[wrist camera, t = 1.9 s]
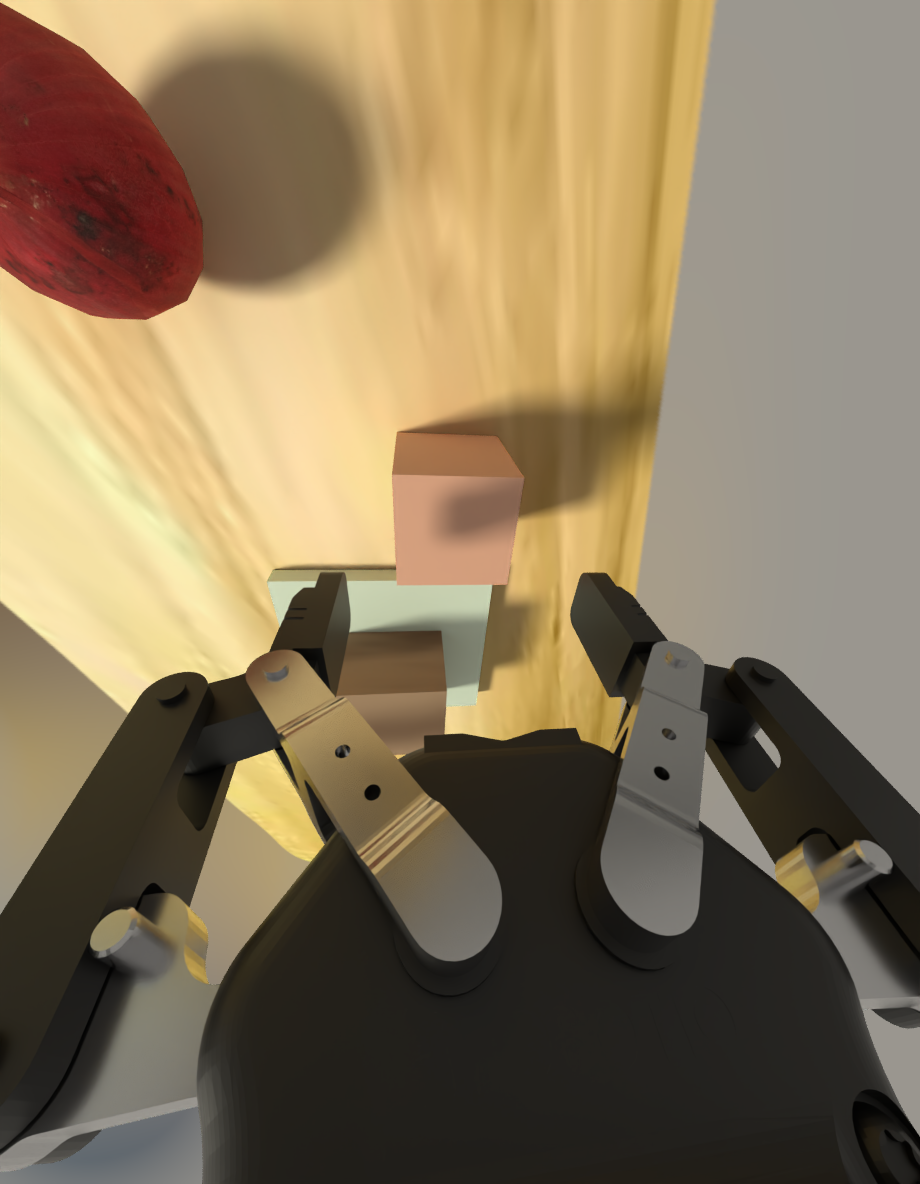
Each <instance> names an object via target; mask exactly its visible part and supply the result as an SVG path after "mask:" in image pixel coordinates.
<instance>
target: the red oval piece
mask: <svg viewBox="0 0 920 1184" xmlns="http://www.w3.org/2000/svg"><path fill="white" fill-rule="evenodd" d="M0 267H2V268H3V269H5V270H6V271H7V272H9V273H10V274H11V275H13V276H14V277H16V278H17V279H18V280H20V281H21V282H22V283H24V284H25V285H26V286H28V287H29V288H31V289H32V290H34V291H36V292H38V293H41V294H43V295H45V296H47V297H49V298H52V299H54V300H56V301H59V302H61V303H63V304H66V305H68V306H70V307H73V308H75V309H77V310H80V311H82V312H84V313H87V314H89V315H92V316H98V317H103V318H114V319H142V320H147V319H149V318H151V317H154V316H156V315H158V314H160V313H162V312H164V311H167V310H169V309H171V308H173V307H175V306H177V305H179V304H181V303H183V302H185V301H187V300H188V298H189V296H190V294H191V292H192V290H193V288H194V286H195V284H196V282H197V280H198V278H199V276H200V273H201V271H202V269H203V229H202V219H201V216H200V214H199V211H198V208H197V206H196V203H195V200H194V198H193V195H192V192H191V190H190V187H189V185H188V182H187V179H186V177H185V174H184V171H183V169H182V167H181V166H180V164H179V163H178V161H177V159H176V158H175V156H174V155H173V153H172V152H171V150H170V148H169V147H168V145H167V144H166V142H165V141H164V139H163V137H162V136H161V134H160V133H159V131H158V130H157V128H156V127H155V125H154V123H153V122H152V120H151V119H150V117H149V116H148V114H147V113H146V112H145V110H144V109H143V108H142V106H141V105H140V104H139V102H138V101H137V99H136V98H135V97H133V96H132V95H131V94H130V93H129V92H128V91H127V90H126V89H125V88H124V87H123V86H122V85H121V84H120V83H119V82H118V81H116V80H115V79H114V78H113V77H112V76H111V75H110V74H109V73H108V72H107V71H106V70H105V69H104V68H103V67H102V66H101V65H100V64H98V63H97V62H96V61H95V60H94V59H93V58H92V57H91V56H90V55H89V54H88V53H87V52H86V51H85V50H84V49H82V48H80V47H79V46H77V45H75V44H74V43H72V42H70V41H69V40H67V39H65V38H63V37H62V36H60V35H58V34H56V33H55V32H53V31H51V30H49V29H47V28H45V27H44V26H42V25H40V24H38V23H36V22H35V21H33V20H31V19H29V18H27V17H26V16H24V15H22V14H20V13H18V12H16V11H15V10H13V9H11V8H9V7H7V6H6V5H4V4H2V3H0Z"/></svg>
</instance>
